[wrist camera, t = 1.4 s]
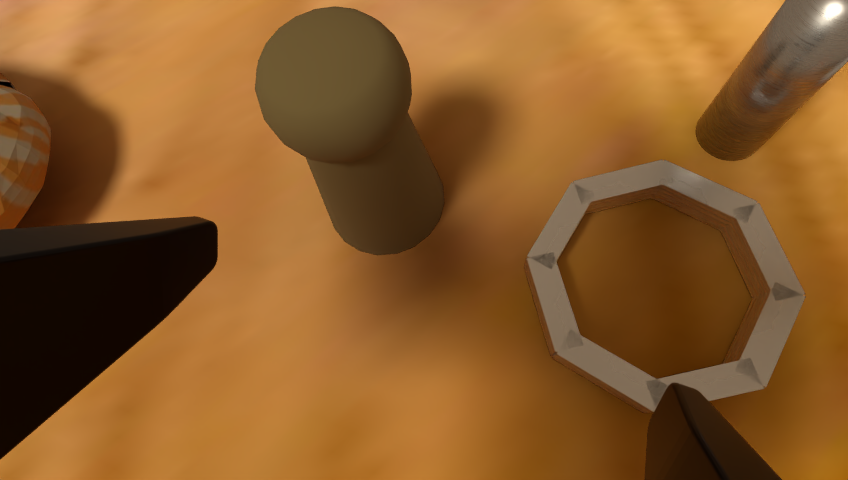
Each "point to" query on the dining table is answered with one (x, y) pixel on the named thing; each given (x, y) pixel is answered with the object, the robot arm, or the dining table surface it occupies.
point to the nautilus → (20, 153)
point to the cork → (352, 125)
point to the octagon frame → (707, 212)
